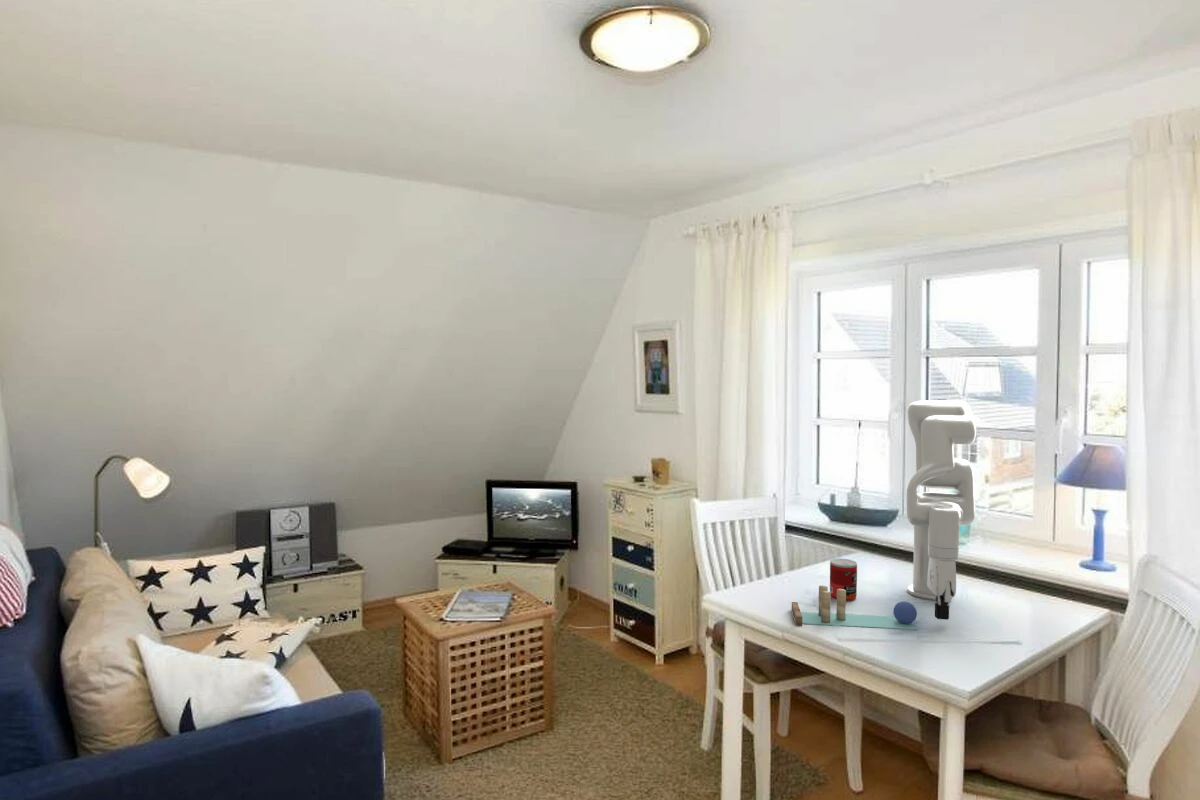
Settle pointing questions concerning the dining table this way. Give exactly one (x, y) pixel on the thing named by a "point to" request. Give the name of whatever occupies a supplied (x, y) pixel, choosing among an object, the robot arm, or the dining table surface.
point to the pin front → (841, 604)
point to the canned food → (843, 578)
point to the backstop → (797, 613)
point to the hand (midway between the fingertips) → (941, 618)
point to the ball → (905, 612)
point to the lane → (857, 621)
